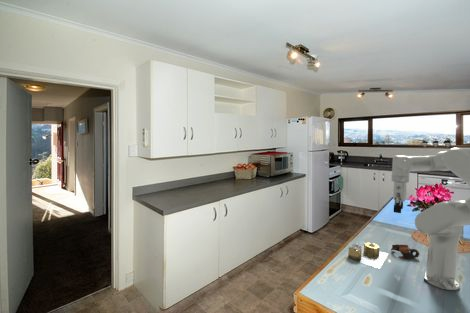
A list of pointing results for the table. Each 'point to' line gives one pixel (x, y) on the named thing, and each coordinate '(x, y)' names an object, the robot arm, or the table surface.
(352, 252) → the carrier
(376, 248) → the planet gear
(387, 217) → the table surface
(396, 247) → the brown clawed ring bracket
